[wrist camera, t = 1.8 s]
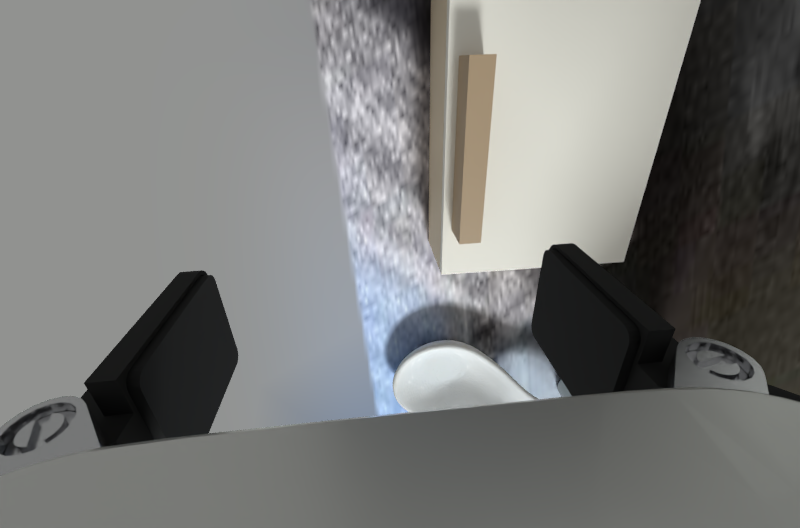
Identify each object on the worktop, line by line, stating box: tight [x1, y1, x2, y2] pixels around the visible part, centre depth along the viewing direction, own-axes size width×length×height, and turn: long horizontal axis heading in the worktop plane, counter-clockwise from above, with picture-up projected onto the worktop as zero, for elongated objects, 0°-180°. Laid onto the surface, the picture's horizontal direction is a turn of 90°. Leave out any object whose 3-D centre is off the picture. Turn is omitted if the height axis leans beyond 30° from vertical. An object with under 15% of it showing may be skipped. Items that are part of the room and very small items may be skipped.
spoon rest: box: [393, 340, 572, 412], centre depth 43 cm, size 24×12×7 cm, turn 79°
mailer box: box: [428, 0, 447, 269], centre depth 30 cm, size 16×20×6 cm
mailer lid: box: [440, 0, 701, 275], centre depth 26 cm, size 16×20×3 cm
